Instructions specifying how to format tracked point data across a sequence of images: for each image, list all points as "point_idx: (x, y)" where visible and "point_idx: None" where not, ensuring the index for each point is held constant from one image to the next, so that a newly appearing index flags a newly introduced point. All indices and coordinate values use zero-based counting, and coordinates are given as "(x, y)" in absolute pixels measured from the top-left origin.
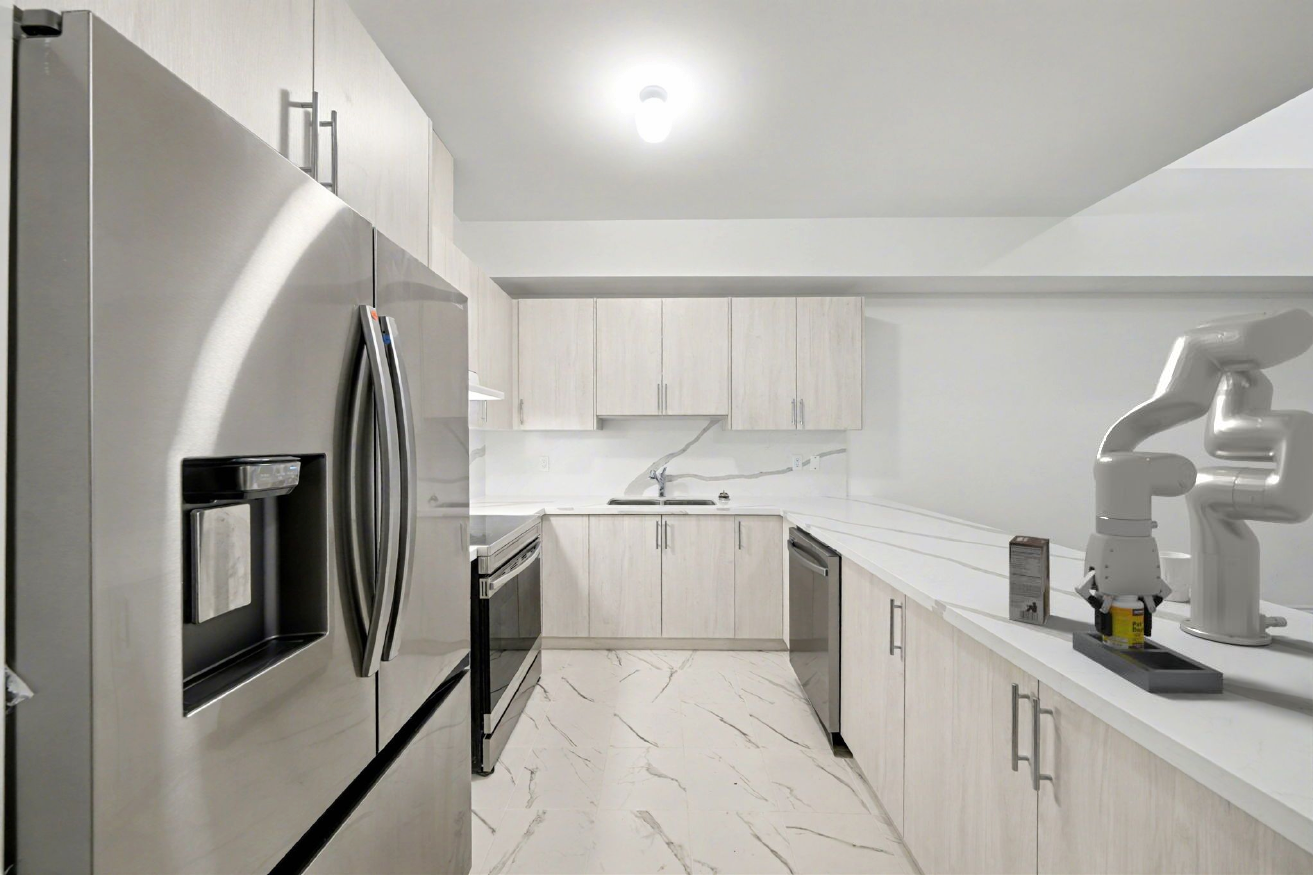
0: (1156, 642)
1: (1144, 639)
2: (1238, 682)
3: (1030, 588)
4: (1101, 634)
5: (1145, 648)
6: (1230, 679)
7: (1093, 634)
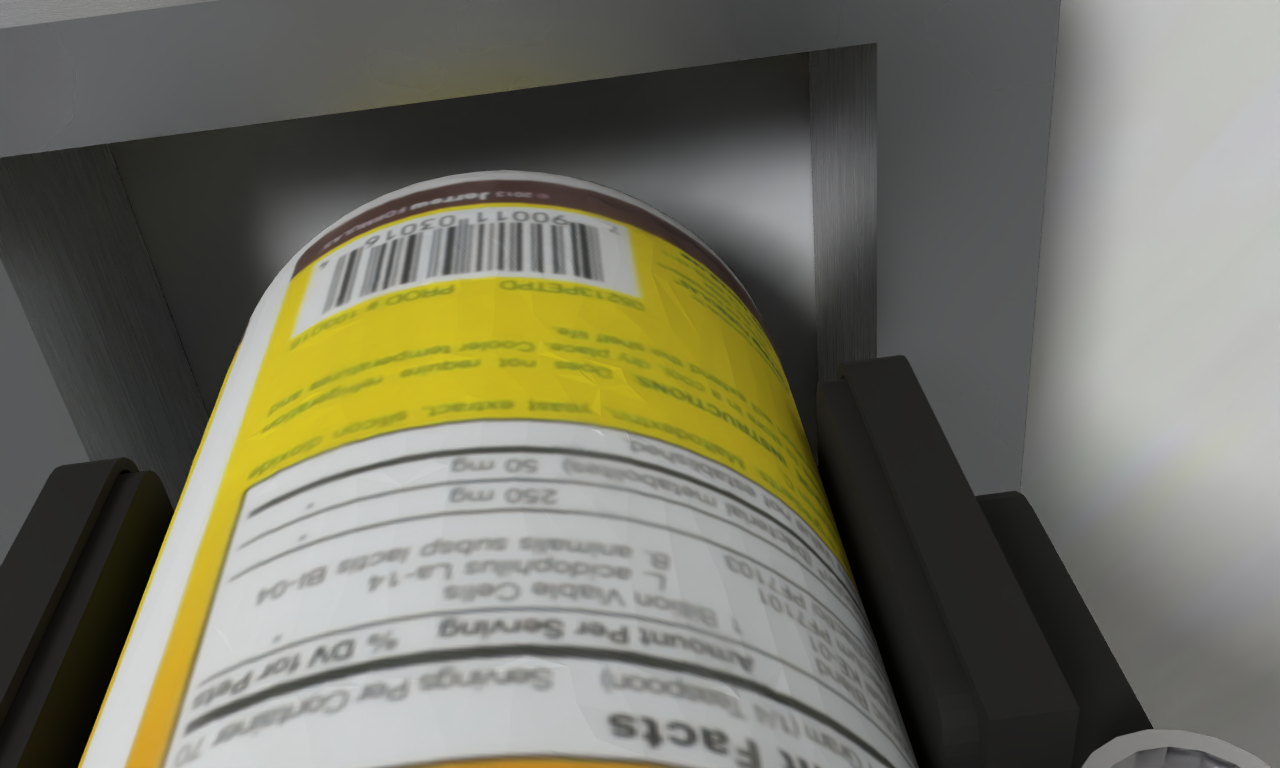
0: (1018, 438)
1: (933, 326)
2: (1271, 715)
3: None
4: (305, 109)
5: (851, 352)
6: (1269, 669)
7: (142, 126)
